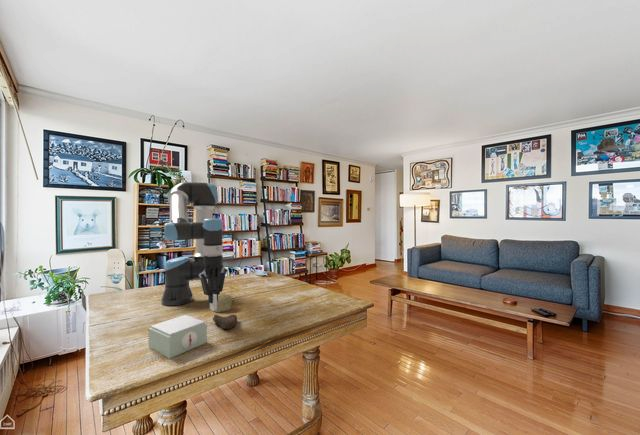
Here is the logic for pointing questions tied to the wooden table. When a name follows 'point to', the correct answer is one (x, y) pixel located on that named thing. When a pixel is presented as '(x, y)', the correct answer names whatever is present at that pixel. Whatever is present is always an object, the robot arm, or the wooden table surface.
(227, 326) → the rock
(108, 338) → the wooden table surface
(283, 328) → the wooden table surface
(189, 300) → the robot arm
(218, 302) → the decorative object
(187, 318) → the scale
